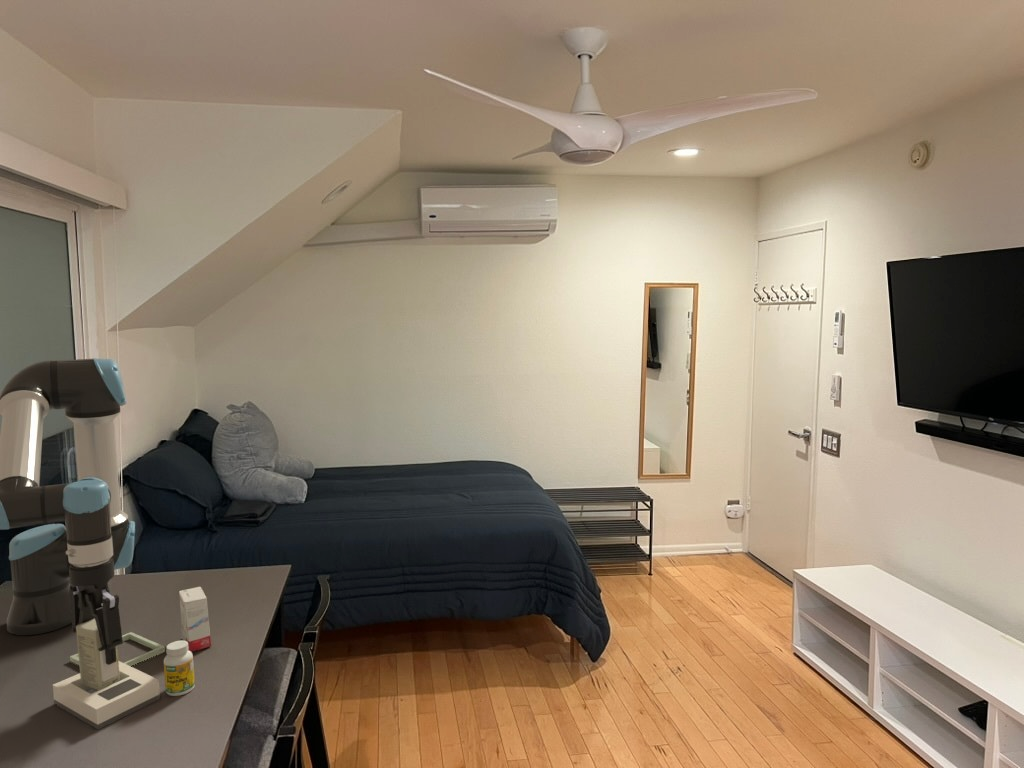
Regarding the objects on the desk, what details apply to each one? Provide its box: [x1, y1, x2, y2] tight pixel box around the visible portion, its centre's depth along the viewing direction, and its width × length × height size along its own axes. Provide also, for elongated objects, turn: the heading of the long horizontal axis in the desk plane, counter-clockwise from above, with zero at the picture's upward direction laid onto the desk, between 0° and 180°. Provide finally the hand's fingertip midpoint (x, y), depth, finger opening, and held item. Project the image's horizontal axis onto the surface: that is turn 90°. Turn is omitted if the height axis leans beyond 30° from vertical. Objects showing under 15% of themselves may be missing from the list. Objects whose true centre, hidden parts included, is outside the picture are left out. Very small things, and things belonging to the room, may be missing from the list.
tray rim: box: [69, 631, 166, 667], centre depth 158 cm, size 14×14×1 cm
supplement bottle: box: [163, 639, 196, 697], centre depth 144 cm, size 5×5×10 cm
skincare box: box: [76, 619, 120, 690], centre depth 140 cm, size 6×4×12 cm
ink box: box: [178, 586, 212, 653], centre depth 163 cm, size 9×5×12 cm, turn 33°
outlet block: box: [52, 660, 161, 731], centre depth 140 cm, size 16×12×4 cm
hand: (99, 672), depth 140 cm, fingers closed on skincare box, 6 cm apart
